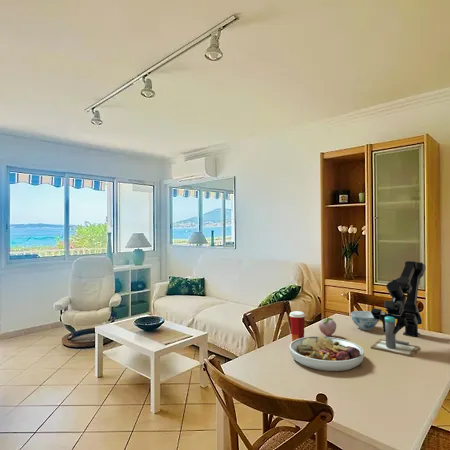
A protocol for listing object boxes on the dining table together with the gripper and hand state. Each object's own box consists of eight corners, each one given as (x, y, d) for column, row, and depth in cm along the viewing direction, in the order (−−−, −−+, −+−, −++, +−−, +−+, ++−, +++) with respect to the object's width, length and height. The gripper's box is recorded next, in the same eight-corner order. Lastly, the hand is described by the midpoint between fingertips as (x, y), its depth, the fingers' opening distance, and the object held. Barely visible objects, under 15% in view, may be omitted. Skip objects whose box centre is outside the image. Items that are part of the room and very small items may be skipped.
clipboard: (380, 340, 161) (380, 337, 161) (419, 347, 149) (419, 344, 149) (370, 348, 150) (370, 344, 150) (412, 357, 139) (412, 353, 139)
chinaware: (380, 325, 185) (379, 312, 185) (380, 333, 171) (380, 318, 171) (351, 323, 191) (351, 310, 191) (349, 330, 177) (349, 316, 177)
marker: (385, 344, 151) (383, 316, 151) (395, 344, 150) (394, 316, 150) (386, 347, 147) (385, 319, 147) (396, 348, 146) (395, 319, 146)
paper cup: (304, 338, 165) (304, 310, 165) (307, 344, 157) (306, 314, 158) (289, 338, 166) (288, 310, 166) (290, 343, 158) (289, 314, 158)
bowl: (276, 361, 138) (275, 342, 139) (310, 342, 160) (310, 326, 161) (346, 382, 118) (345, 360, 118) (375, 357, 140) (374, 339, 140)
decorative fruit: (322, 332, 174) (322, 313, 175) (338, 335, 170) (337, 315, 170) (316, 337, 167) (315, 317, 167) (332, 340, 162) (332, 320, 162)
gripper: (371, 291, 158) (362, 318, 150) (414, 296, 145) (406, 326, 137) (379, 304, 163) (370, 332, 156) (421, 310, 150) (413, 341, 142)
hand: (389, 332), depth 147 cm, fingers closed on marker, 4 cm apart
